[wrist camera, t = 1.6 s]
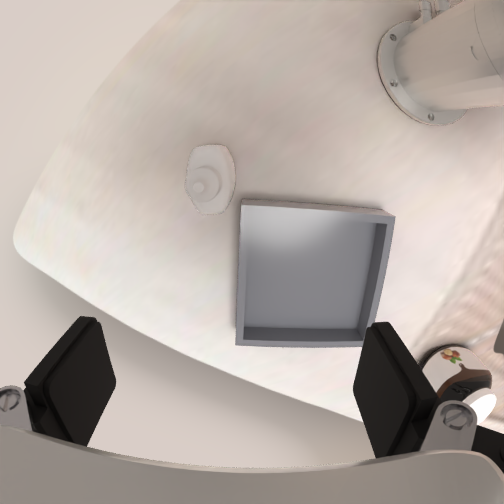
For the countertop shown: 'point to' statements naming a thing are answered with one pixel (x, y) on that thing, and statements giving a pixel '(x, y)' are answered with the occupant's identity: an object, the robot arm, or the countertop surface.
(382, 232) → the dish
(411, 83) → the robot arm
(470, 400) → the spread jar
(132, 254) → the countertop surface
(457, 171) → the countertop surface
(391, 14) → the countertop surface
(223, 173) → the eye dropper bottle
